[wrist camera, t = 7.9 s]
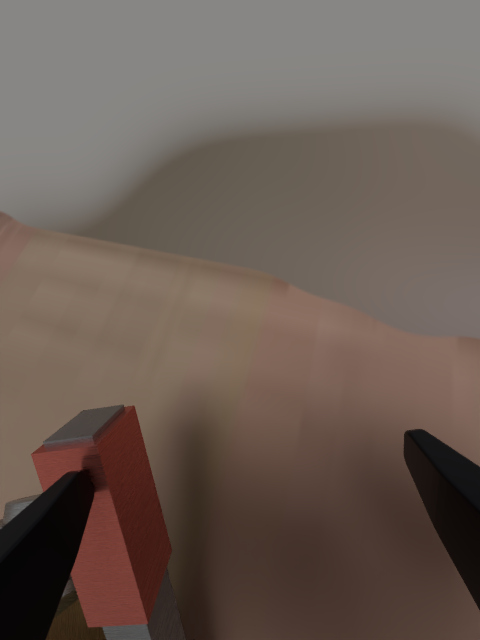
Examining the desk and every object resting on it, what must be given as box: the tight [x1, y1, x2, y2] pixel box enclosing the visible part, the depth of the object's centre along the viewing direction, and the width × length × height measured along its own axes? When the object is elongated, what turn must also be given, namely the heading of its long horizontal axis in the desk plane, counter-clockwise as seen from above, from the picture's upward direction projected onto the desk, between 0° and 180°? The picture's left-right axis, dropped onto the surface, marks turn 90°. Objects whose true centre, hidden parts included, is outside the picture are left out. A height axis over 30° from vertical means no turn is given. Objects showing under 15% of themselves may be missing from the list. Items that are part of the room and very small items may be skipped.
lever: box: [31, 405, 195, 640], centre depth 11 cm, size 3×2×14 cm
